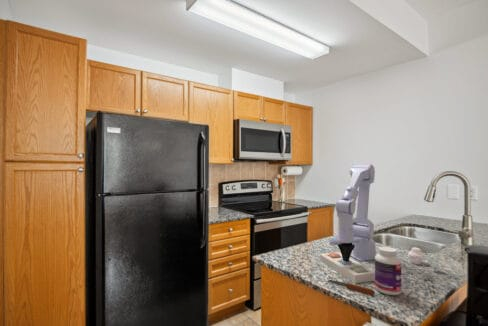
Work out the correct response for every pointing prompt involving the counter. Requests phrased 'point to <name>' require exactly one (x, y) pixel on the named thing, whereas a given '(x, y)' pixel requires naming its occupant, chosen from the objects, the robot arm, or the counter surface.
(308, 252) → the counter surface
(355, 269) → the green button
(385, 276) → the pill bottle
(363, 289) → the kitchen knife
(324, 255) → the button panel
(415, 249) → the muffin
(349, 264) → the blue button
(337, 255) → the terracotta button
